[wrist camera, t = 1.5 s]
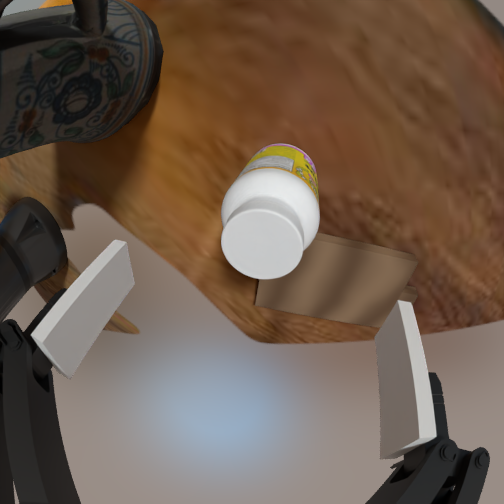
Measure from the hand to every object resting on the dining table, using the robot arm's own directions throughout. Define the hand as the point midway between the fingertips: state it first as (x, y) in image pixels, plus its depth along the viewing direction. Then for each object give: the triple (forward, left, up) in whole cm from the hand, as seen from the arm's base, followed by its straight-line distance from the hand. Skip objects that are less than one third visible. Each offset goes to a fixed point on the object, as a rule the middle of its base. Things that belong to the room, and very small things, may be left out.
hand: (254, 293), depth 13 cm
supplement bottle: (0, 0, -17) cm, 17 cm away
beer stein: (-20, +12, -17) cm, 29 cm away
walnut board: (+9, -11, -16) cm, 22 cm away
